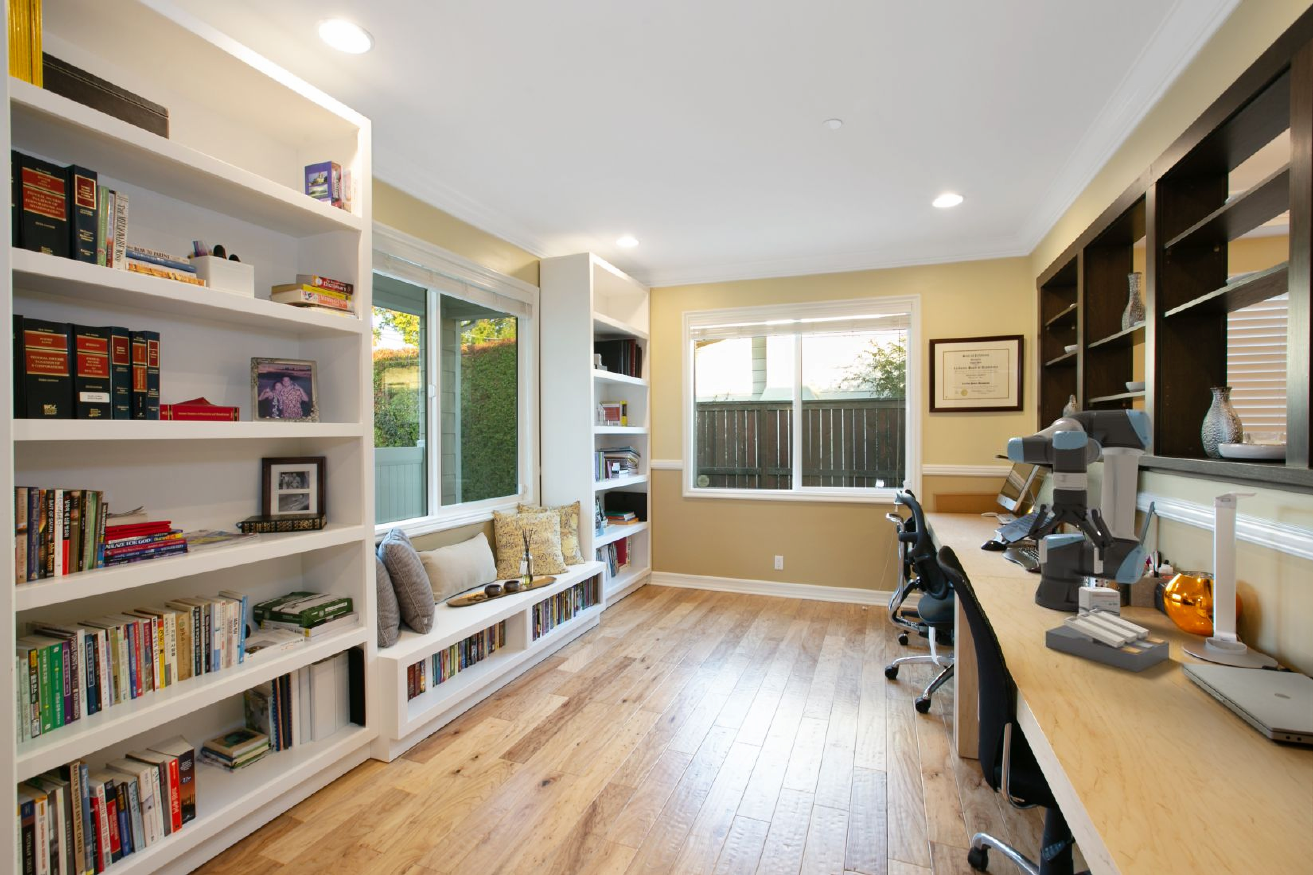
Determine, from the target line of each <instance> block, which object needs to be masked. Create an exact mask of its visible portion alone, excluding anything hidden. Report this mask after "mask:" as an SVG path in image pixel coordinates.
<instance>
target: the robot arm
mask: <svg viewBox="0 0 1313 875" xmlns="http://www.w3.org/2000/svg"><path fill="white" fill-rule="evenodd" d="M1148 414H1149V413H1147V412H1146V411H1145V410H1143V409H1128V408H1127V409H1110V410H1109V409H1106V410H1084V411H1079V412H1076V413H1072V414H1069V415H1066V416H1063V417H1060V418H1059V419H1057V420H1055V421H1054V422H1053V423H1051V425H1050V426H1049V427H1047V428H1045V429H1043V430H1041V431H1039V432H1036V433H1034V434H1032V435H1030V436H1027V437H1022V436H1019V437H1011V438H1010V439H1009V440H1008V442H1007V445H1006V453H1007V454H1006V456H1007V458H1008V460H1009V461H1010V462H1012V463H1021V464H1050V465H1052V486H1053V487H1054V488H1053V490H1052V502H1053V504H1052V505H1051V504H1049V503H1042V504H1040V506H1039V513H1038V515H1037V516H1036V518H1035V520H1034V521H1033V523H1032V524H1031V526H1030V528H1029V530H1028V531H1027V534H1028V536H1031V537H1034V539H1035V550H1036V551H1038V563H1039V564H1041V565H1040V567H1041V568H1040V572H1041V573H1040V574H1041V578H1040V582H1039V584H1038V587H1037V589H1036V591H1035V594H1034V602H1035V603H1036V605H1039V606H1041V607H1046V608H1048V609H1052V610H1058V611H1063V612H1064V611H1065V612H1079V588H1081V587H1086V586H1085V578H1091V579H1097V580H1101V581H1102V580H1103V581H1108V582H1116V583H1117V584H1120V583H1123V584H1135V583H1137V582H1138V581H1140V579H1141V578H1142V575H1143V573H1144V570H1145V566H1146V564H1147V563H1146V562H1147V550H1146V548H1145V547H1144V546H1143V545H1140V543H1141V542H1140V541H1141V540H1140V539H1139V538H1138V537H1137V535H1135V518H1136V503H1137V502H1136V501H1137V489H1138V472H1139V471H1138V469H1139V459H1140V457H1142V456H1143V455H1145V454H1146V448H1150V447H1152V446H1153V443H1154V431H1153V427H1152V425H1153V424H1152V422H1151V418H1150V416H1149V415H1148ZM1102 456H1103V468H1102V470H1103V471H1102V480H1101V481H1102V482H1101V483H1102V484H1101V498H1100V508H1093V509H1092V508H1091V509H1089V508H1088V507H1087V506H1088V505H1087V504H1088V490H1086V488H1088V465H1092V464H1093V463H1096V462H1097V461H1098V460H1099V459H1100V458H1101V457H1102ZM1051 512H1052V513H1053V514H1054V515H1053V516H1052V517H1051V518H1050V520H1048V522H1047V523H1046V524H1044V523H1045V520H1046V519H1047V517H1048V515H1049V513H1051ZM1087 515H1089V517H1090V518H1091V519H1092V521H1093V522H1092V523H1094V525H1095V528H1096V529H1097V530H1096V529H1095V528H1094V527H1093V525H1092V524H1091V522H1090V521H1089V520H1088V518H1087ZM1059 523H1063V524H1066V523H1068V524H1071V525H1078V526H1079V527H1081V529H1082V530H1083V531H1084V532H1085V533H1086V534H1087V536H1088V537H1089V538H1090V540H1088V539H1087V540H1086V537H1085V535H1083V534H1079V533H1059V534H1058V533H1056V534H1049V532H1051V531H1052V530H1053V529H1054V528H1055V527H1056V526H1057V525H1058V524H1059ZM1043 524H1044V526H1043ZM1042 526H1043V527H1042Z"/></svg>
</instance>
